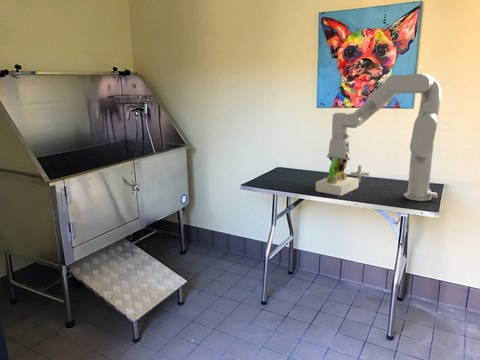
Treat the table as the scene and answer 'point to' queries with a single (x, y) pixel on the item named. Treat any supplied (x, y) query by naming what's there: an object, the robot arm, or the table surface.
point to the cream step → (337, 186)
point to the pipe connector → (359, 173)
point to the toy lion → (336, 171)
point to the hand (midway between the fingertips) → (337, 170)
